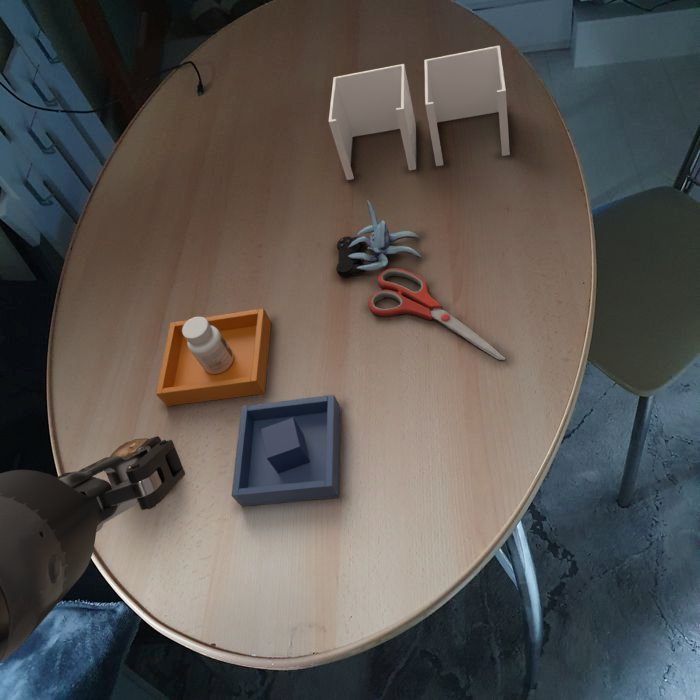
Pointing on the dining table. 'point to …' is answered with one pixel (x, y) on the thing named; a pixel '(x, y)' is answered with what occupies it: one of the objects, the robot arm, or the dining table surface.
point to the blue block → (285, 445)
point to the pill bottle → (207, 345)
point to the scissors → (423, 307)
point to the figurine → (378, 246)
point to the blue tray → (297, 483)
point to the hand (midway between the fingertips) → (105, 468)
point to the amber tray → (238, 380)
